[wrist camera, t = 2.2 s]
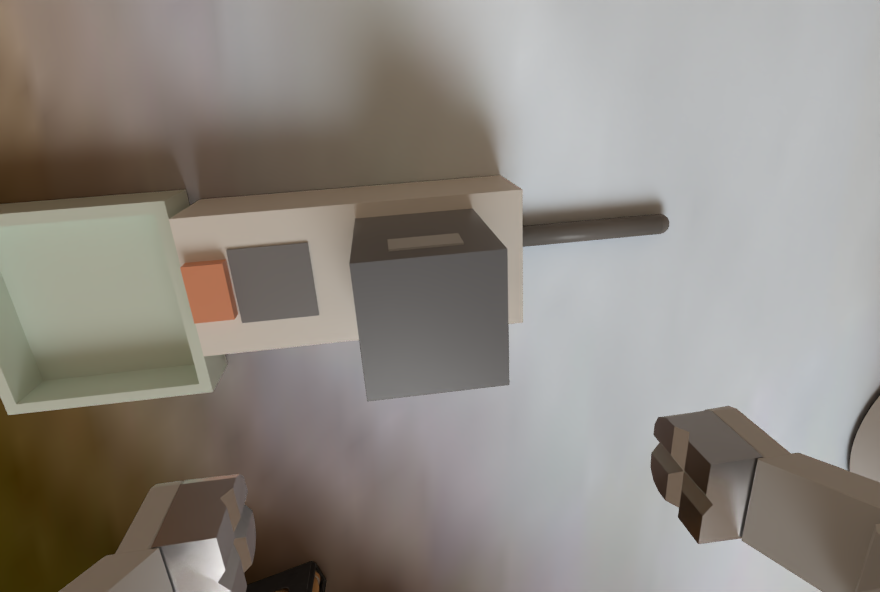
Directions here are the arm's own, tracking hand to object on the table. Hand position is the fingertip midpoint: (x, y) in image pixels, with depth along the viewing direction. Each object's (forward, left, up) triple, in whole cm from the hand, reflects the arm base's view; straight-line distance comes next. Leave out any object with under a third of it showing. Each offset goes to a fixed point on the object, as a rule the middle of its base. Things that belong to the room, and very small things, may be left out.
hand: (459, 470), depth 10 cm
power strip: (-2, 0, -17) cm, 17 cm away
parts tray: (+14, +1, -17) cm, 22 cm away
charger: (0, 0, -16) cm, 16 cm away
